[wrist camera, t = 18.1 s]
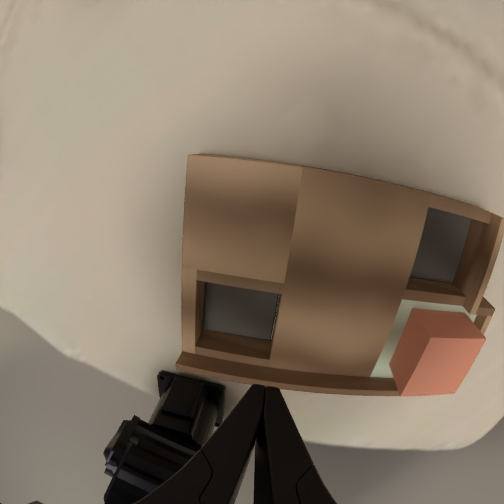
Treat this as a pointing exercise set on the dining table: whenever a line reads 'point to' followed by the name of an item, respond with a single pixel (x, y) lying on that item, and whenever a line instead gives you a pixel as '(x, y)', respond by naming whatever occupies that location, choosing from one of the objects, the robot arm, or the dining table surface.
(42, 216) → the dining table surface
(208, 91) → the dining table surface
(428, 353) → the block
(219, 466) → the robot arm
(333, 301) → the brown compartment tray
